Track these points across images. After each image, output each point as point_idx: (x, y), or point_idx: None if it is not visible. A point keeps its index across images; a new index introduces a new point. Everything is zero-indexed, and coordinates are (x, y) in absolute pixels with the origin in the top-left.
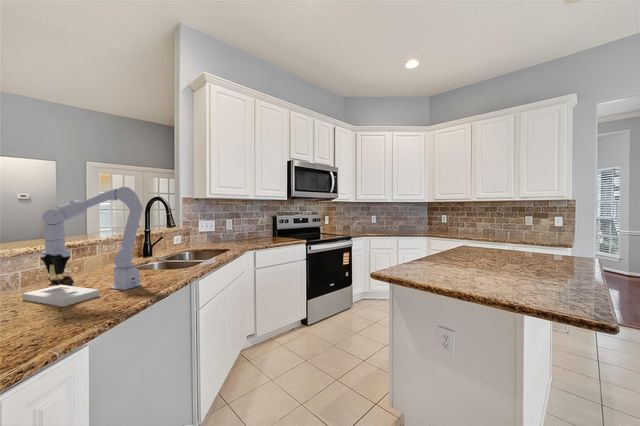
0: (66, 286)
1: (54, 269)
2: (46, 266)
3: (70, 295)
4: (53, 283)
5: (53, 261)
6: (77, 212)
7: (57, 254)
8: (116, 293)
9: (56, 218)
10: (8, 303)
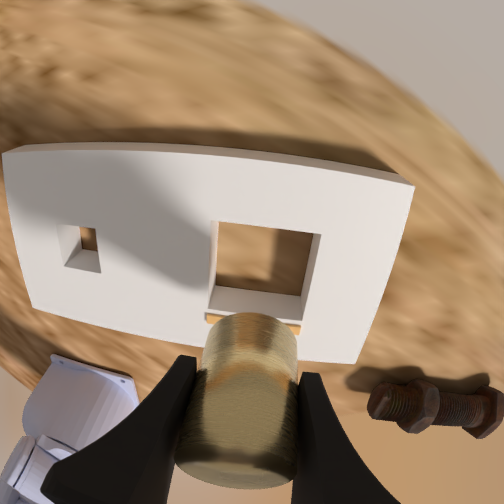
0: None
1: (201, 400)
2: (333, 433)
3: (36, 212)
4: (481, 386)
5: (105, 463)
6: None
7: None
8: (36, 321)
9: None
10: (411, 108)
